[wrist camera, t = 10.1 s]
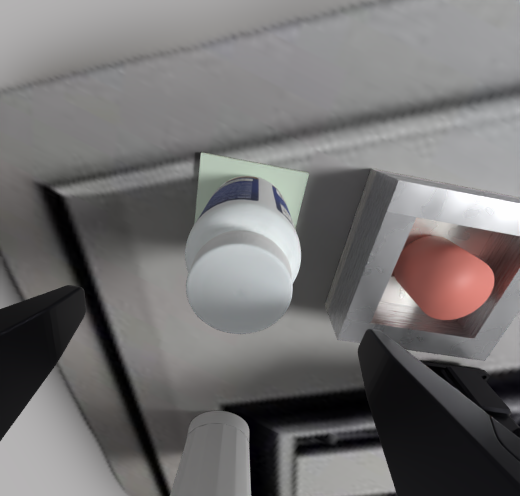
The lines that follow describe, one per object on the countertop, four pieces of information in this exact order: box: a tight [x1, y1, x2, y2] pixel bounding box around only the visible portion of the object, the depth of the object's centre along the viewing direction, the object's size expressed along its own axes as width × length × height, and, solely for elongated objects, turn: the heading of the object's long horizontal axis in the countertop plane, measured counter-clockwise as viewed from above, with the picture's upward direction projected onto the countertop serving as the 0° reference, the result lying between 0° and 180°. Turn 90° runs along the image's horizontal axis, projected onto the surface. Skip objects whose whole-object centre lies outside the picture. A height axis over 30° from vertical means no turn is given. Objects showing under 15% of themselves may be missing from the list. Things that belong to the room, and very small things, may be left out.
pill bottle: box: [185, 176, 301, 334], centre depth 15 cm, size 5×5×10 cm
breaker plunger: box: [394, 236, 494, 320], centre depth 18 cm, size 4×4×3 cm
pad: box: [194, 152, 309, 228], centre depth 19 cm, size 7×7×1 cm
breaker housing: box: [325, 169, 520, 361], centre depth 19 cm, size 11×11×4 cm
